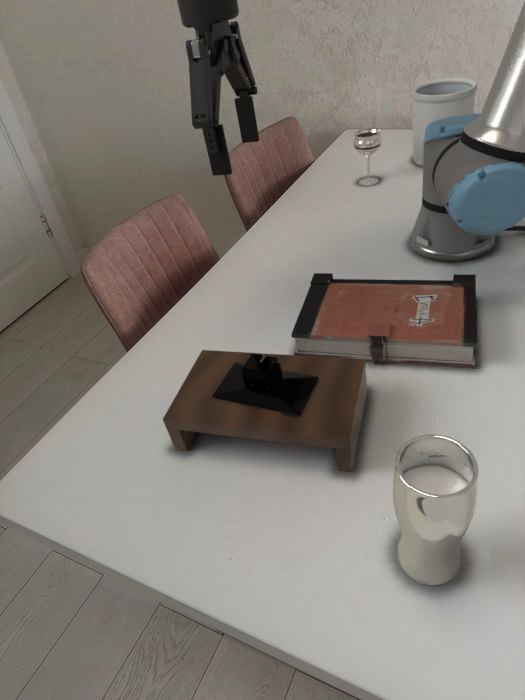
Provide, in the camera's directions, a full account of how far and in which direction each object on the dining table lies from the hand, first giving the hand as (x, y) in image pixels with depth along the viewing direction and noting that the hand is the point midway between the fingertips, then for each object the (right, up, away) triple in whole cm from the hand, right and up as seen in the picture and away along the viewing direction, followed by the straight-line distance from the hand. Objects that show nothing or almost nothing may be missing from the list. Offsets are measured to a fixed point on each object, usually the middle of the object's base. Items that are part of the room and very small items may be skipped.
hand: (237, 157), depth 75 cm
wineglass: (+31, +14, +52) cm, 62 cm away
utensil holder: (+51, +21, +56) cm, 79 cm away
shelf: (+5, -39, -6) cm, 40 cm away
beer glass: (+21, -50, -24) cm, 60 cm away
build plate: (+4, -34, -10) cm, 36 cm away
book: (+24, -26, +5) cm, 35 cm away
